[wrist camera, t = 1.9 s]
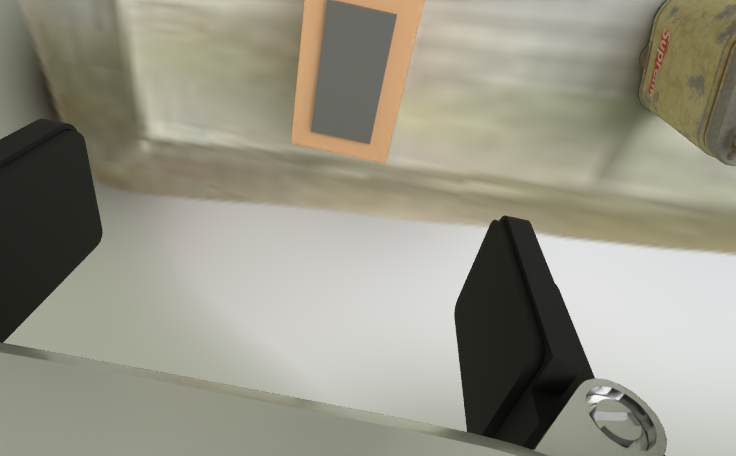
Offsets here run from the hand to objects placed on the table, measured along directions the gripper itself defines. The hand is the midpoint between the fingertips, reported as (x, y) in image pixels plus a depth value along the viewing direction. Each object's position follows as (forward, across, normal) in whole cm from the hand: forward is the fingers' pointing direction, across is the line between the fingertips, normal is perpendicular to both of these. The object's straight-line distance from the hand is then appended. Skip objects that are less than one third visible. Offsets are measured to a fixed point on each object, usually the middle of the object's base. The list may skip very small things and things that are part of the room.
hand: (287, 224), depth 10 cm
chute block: (+20, 0, 0) cm, 20 cm away
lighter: (+20, -18, -3) cm, 28 cm away
